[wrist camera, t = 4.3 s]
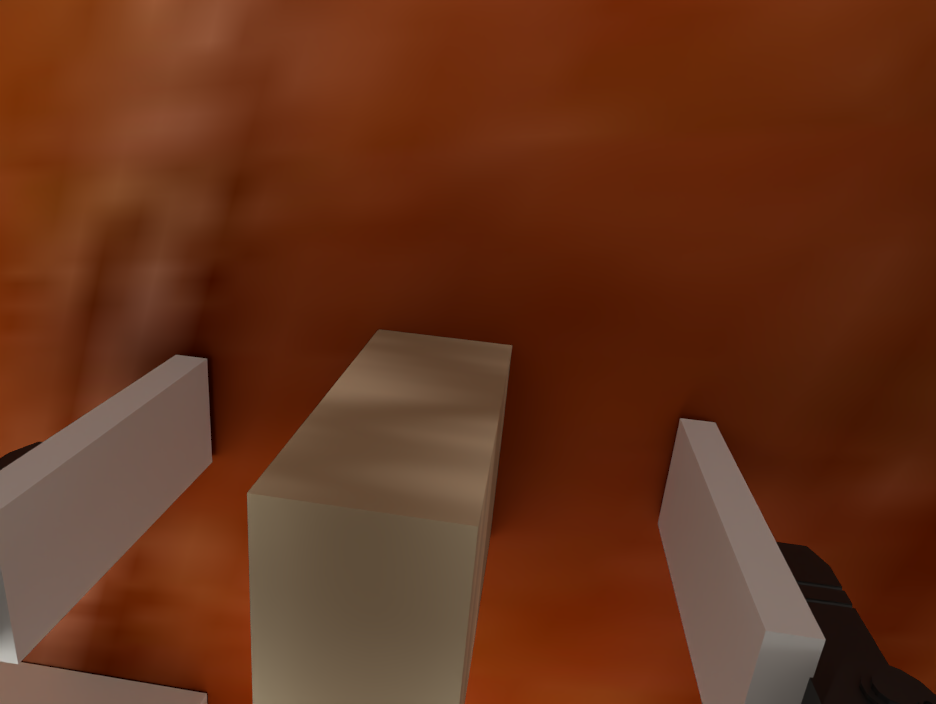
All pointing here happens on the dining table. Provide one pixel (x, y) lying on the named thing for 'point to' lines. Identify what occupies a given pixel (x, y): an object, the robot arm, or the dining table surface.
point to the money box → (82, 688)
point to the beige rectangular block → (379, 529)
